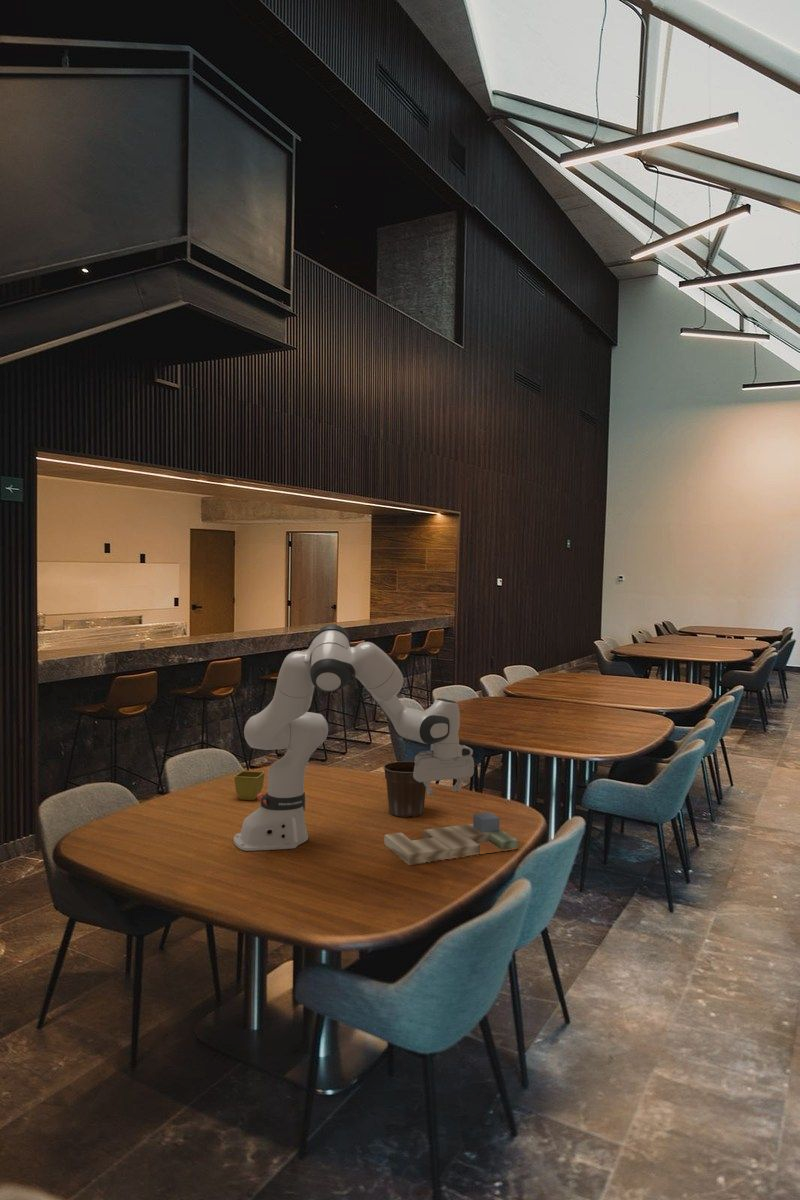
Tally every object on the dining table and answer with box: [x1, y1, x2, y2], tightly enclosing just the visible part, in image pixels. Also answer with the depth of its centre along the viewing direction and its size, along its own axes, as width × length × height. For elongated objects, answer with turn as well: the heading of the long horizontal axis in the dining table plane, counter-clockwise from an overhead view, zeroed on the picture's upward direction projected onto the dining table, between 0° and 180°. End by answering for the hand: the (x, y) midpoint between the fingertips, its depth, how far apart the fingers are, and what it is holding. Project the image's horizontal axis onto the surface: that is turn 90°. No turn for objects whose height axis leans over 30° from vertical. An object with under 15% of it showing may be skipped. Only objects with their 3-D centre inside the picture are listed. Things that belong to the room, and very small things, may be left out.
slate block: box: [472, 811, 501, 833], centre depth 239 cm, size 6×6×4 cm
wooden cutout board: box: [383, 823, 519, 866], centre depth 231 cm, size 36×18×3 cm, turn 113°
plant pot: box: [382, 760, 427, 818], centre depth 264 cm, size 16×16×16 cm
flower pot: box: [234, 770, 265, 801], centre depth 276 cm, size 9×9×9 cm
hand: (443, 793), depth 240 cm, fingers open, 8 cm apart
